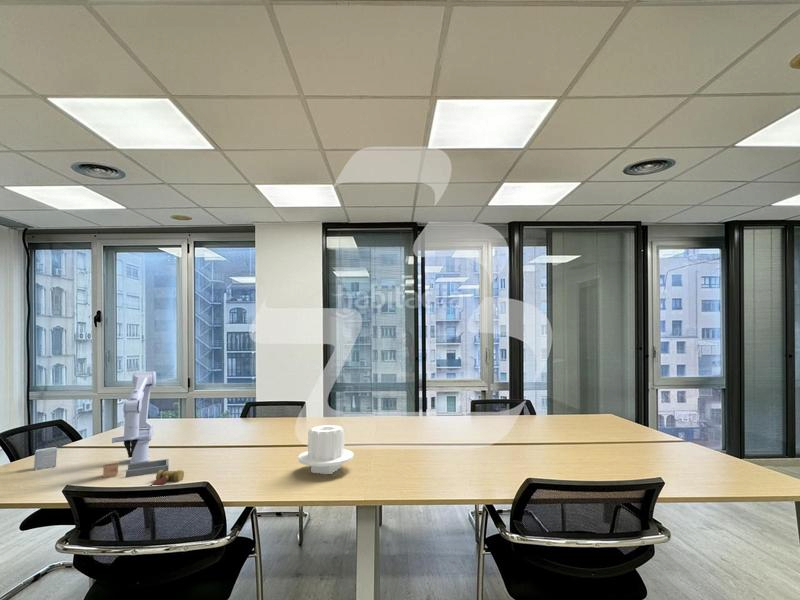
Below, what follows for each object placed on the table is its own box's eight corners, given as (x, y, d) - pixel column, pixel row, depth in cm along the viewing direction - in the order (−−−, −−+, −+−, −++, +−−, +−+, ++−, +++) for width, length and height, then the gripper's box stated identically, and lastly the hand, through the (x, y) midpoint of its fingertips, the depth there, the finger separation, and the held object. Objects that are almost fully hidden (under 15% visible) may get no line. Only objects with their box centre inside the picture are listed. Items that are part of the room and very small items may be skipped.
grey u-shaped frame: (128, 469, 196) (128, 464, 196) (168, 464, 204) (168, 458, 204) (125, 477, 185) (126, 471, 186) (168, 471, 193) (168, 465, 194)
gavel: (153, 489, 162) (128, 489, 163) (153, 501, 162) (128, 500, 163) (184, 468, 183) (162, 468, 184) (184, 479, 183) (162, 478, 184)
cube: (104, 475, 189) (105, 463, 189) (117, 473, 191) (118, 462, 191) (102, 478, 184) (103, 466, 185) (116, 476, 187) (117, 464, 187)
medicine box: (55, 464, 204) (56, 446, 205) (56, 466, 201) (57, 448, 202) (33, 468, 199) (34, 449, 199) (34, 470, 195) (35, 451, 196)
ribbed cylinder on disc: (336, 482, 177) (337, 436, 178) (286, 476, 185) (287, 432, 187) (362, 465, 200) (362, 424, 202) (316, 460, 209) (317, 421, 210)
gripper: (111, 430, 186) (110, 461, 185) (149, 426, 193) (148, 456, 192) (113, 427, 192) (112, 457, 191) (150, 423, 199) (149, 453, 198)
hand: (130, 456), depth 192 cm, fingers closed
